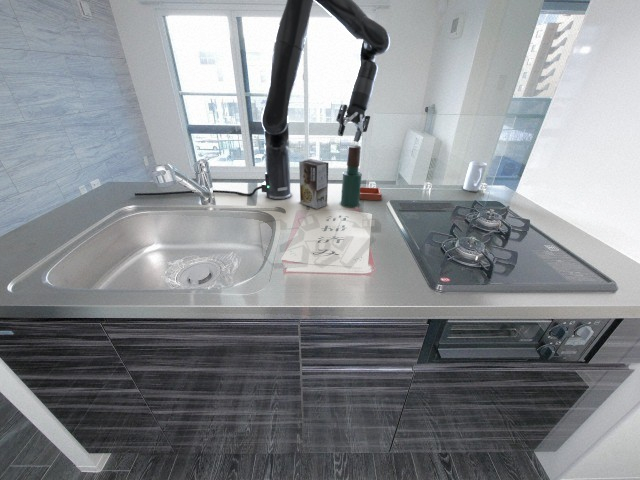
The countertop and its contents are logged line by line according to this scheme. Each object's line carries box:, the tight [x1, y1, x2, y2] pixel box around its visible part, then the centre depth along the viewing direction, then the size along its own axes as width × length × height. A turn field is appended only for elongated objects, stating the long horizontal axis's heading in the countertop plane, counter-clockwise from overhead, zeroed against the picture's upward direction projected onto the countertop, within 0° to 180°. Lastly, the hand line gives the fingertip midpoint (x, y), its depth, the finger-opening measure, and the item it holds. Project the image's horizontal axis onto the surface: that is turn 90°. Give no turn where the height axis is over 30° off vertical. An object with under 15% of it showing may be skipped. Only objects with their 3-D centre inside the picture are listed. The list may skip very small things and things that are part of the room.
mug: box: [462, 160, 488, 192], centre depth 119 cm, size 10×7×12 cm, turn 173°
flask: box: [340, 165, 363, 208], centre depth 100 cm, size 7×7×15 cm
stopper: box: [346, 144, 362, 168], centre depth 95 cm, size 5×5×9 cm
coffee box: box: [298, 158, 329, 210], centre depth 99 cm, size 9×6×16 cm
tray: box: [359, 186, 382, 201], centre depth 111 cm, size 9×8×2 cm
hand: (348, 138), depth 103 cm, fingers open, 8 cm apart
